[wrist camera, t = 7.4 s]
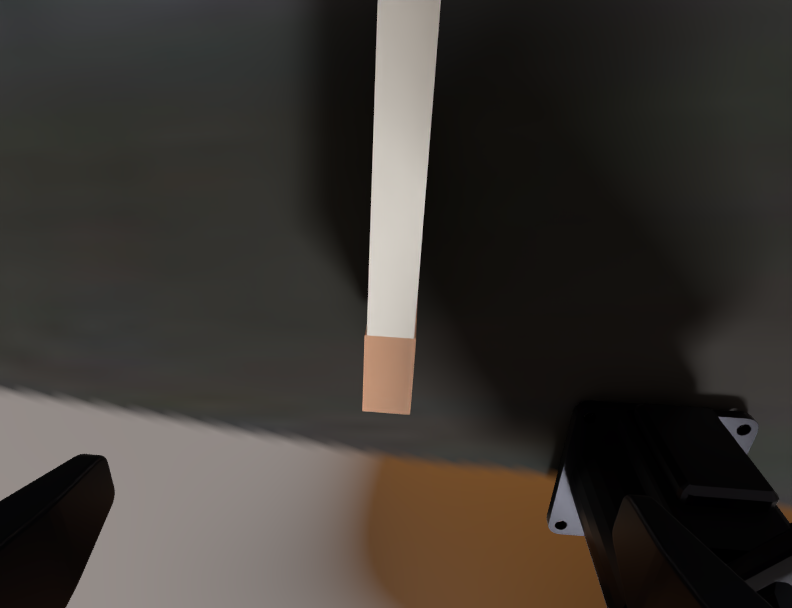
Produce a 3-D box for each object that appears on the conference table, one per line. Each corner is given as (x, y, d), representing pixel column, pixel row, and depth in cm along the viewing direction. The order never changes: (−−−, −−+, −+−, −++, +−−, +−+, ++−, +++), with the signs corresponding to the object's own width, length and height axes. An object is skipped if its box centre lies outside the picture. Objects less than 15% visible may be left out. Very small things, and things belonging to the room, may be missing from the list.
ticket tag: (413, 346, 18) (409, 414, 15) (374, 343, 18) (362, 411, 15) (467, -345, 11) (485, -511, 7) (402, -347, 11) (390, -514, 7)
